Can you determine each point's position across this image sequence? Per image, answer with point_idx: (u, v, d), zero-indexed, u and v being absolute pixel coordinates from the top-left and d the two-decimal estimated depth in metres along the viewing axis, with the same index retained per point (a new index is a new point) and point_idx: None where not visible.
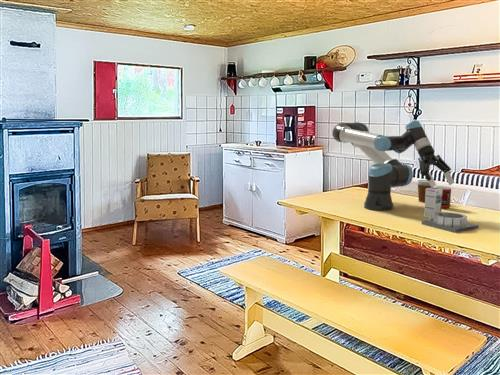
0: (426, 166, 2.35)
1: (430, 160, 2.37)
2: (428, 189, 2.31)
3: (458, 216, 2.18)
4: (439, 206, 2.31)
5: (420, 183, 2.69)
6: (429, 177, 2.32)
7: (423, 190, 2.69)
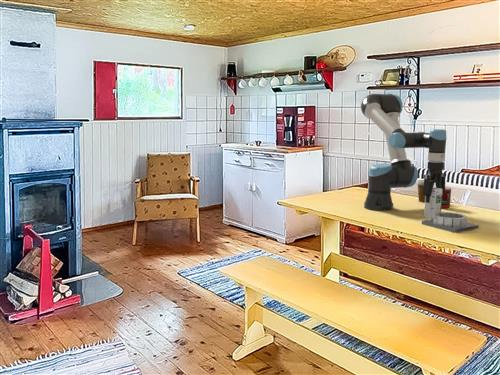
0: (430, 186, 2.29)
1: (435, 179, 2.28)
2: None
3: (458, 216, 2.18)
4: (439, 206, 2.31)
5: (420, 183, 2.69)
6: (428, 200, 2.30)
7: None
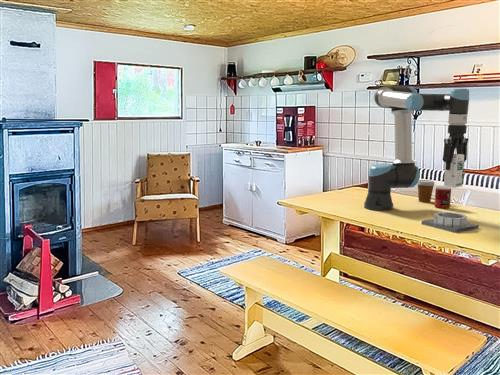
0: (450, 151, 2.08)
1: (456, 144, 2.08)
2: None
3: (458, 216, 2.18)
4: (461, 174, 2.10)
5: (420, 183, 2.69)
6: (449, 167, 2.09)
7: (423, 190, 2.69)
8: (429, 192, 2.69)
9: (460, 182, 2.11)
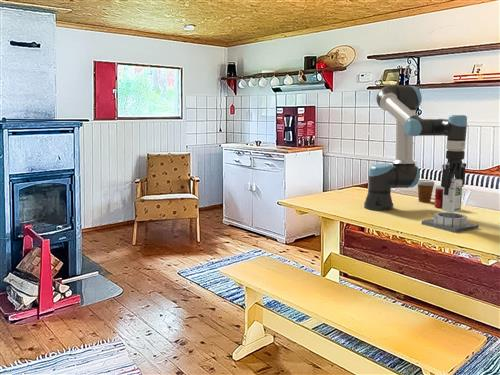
0: (448, 177, 2.10)
1: (455, 169, 2.10)
2: None
3: (458, 216, 2.18)
4: (459, 199, 2.12)
5: (420, 183, 2.69)
6: (447, 192, 2.11)
7: (423, 190, 2.69)
8: (429, 192, 2.69)
9: (458, 207, 2.13)
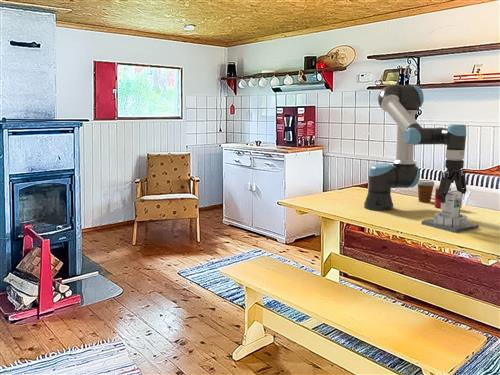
0: (446, 185, 2.10)
1: (453, 178, 2.10)
2: None
3: None
4: (457, 211, 2.13)
5: (420, 183, 2.69)
6: (444, 200, 2.10)
7: (423, 190, 2.69)
8: (429, 192, 2.69)
9: None
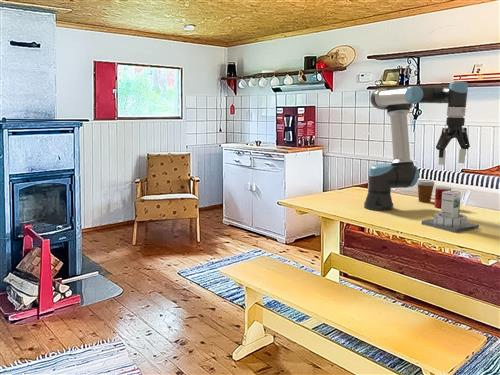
0: (446, 140, 2.12)
1: (453, 135, 2.12)
2: (445, 192, 2.13)
3: None
4: (457, 211, 2.13)
5: (420, 183, 2.69)
6: (442, 155, 2.12)
7: (423, 190, 2.69)
8: (429, 192, 2.69)
9: None
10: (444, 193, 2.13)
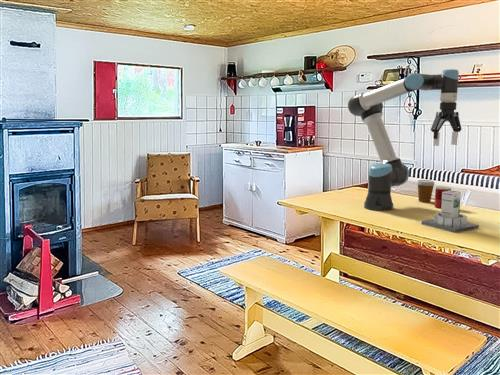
0: (439, 123, 2.32)
1: (446, 118, 2.32)
2: (445, 192, 2.13)
3: None
4: (457, 211, 2.13)
5: (420, 183, 2.69)
6: (436, 136, 2.32)
7: (423, 190, 2.69)
8: (429, 192, 2.69)
9: None
10: (444, 193, 2.13)
